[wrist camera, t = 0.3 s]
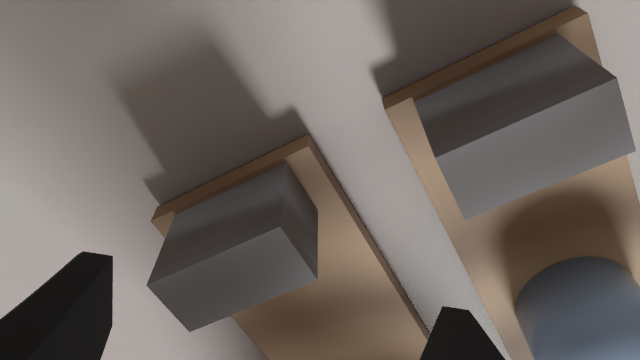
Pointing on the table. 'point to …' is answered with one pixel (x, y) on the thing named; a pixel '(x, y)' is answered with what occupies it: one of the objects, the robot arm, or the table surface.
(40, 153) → the table surface
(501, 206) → the strip
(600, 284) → the blue-grey rounded block
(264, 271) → the strip empty
